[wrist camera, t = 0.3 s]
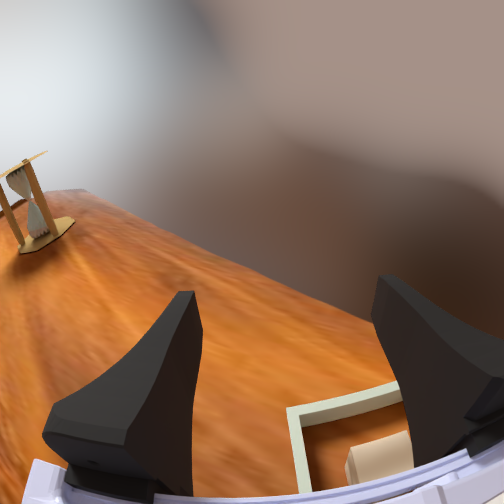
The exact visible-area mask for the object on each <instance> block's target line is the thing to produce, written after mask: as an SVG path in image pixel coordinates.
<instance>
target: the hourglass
mask: <svg viewBox="0 0 504 504" xmlns="http://www.w3.org/2000/svg"><path fill="white" fill-rule="evenodd" d="M45 152H47V151H45ZM45 152H43V153H40V154H38V155H36V156H34V157H32V158H30V159H24V160H23V161H22V163H20V164H19V165H16V166H15V167H13V168H11V169H9V170H8V171H6V172H5V173H3V174H1V175H0V178H1V177H3V176H5V175H7V174H8V173H9V174H8V175H7V176H6V180H7V183H8V185H9V187H10V188H11V189H12V190H14V191H15V192H17V193H18V194H19V195H21V196H22V197H23V198H25V199H26V200H27V201H29V208H28V225H27V229H28V231H29V234H30V235H29V236H27V237H26V238H25V239H24V237H23V235H22V233H21V230H20V228H19V226H18V224H17V222H16V219H15V217H14V215H13V212H12V210H11V208H10V205H9V203H8V201H7V198H6V196H5V194H4V191H3V189H2V186H1V184H0V204H1V206H2V209H3V211H4V214H5V216H6V218H7V220H8V223H9V225H10V227H11V229H12V231H13V233H14V235H15V237H16V239H17V241H18V242H19V245H18V246H17V247H18V249H19V252H20V253H26V252H32V251H37V250H39V249H40V248H42V247H43V246H45V245H46V244H48V243H49V242H51V241H53V240H54V239H56V238H57V237H59V236H61V235H62V234H63V233H64V232H65V231H66V230H67V228H68V227H69V226H70V225H71V224H72V223H73V222H74V221H75V220H74V219H72V218H70V217H69V216H67V217H63V218H59V219H54V220H53V218H52V215H51V213H50V210H49V208H48V205H47V203H46V200H45V198H44V195H43V193H42V191H41V188H40V186H39V183H38V181H37V178H36V175H35V173H34V170H33V168H32V166H31V164H30V161H31V160H33V159H35V158H36V157H38V156H40V155H42V154H44V153H45ZM31 191H32V193H33V196H34V198H35V201H36V203H37V205H38V206H37V205H36V204H34V203H33V202H31V201H30V199H31Z"/></svg>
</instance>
